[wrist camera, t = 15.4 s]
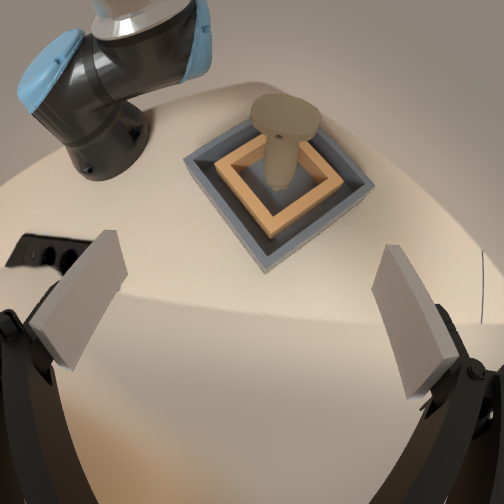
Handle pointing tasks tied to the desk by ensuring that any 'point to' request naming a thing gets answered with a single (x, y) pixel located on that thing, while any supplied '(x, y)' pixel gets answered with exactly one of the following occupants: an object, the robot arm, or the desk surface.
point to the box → (276, 203)
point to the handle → (283, 134)
